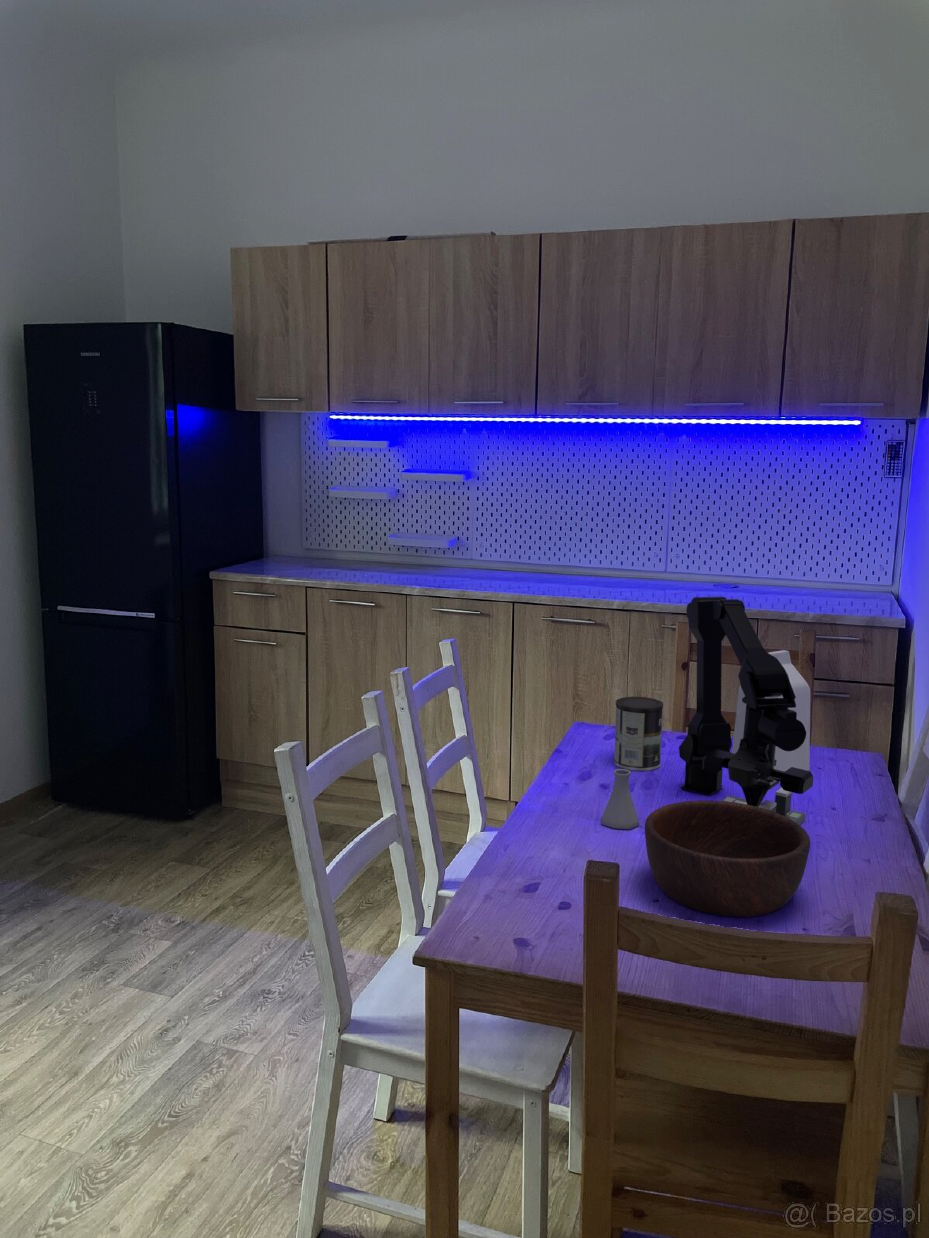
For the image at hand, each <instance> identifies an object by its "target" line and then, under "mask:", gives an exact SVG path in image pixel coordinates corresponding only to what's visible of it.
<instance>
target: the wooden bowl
mask: <svg viewBox="0 0 929 1238" xmlns="http://www.w3.org/2000/svg"><path fill="white" fill-rule="evenodd" d="M644 836H645V837H644V838H645V846H646V847H645V848H646V854H647V859H648V864H649V868H650V870H651V872H652V875H653V877H654V879H655V881H656V883H657V884H658V886H659V888H660V889H661V890H662V891H663V892H664V893H665V894H666V895H667V896H668V897H669V898H670V899H672V900H673V901H675V902H677V903H679V904H680V905H683V906H685V907H687V908H690V909H692V910H696V911H699V912H702V913H707V914H711V915H716V916H723V917H736V918H737V917H738V918H739V917H740V918H741V917H745V918H746V917H747V918H748V917H757V916H764V915H767V914H770V913H774V912H775V911H777V910H779V909H781V908H783V907H784V906H785V905H787V904H788V903H789V902H790V900H791V899H792V898H793V897H794V895H795V893H796V892H797V890H798V888H799V886H800V884H801V882H802V881H803V877H804V873H805V870H806V866H807V863H808V858H809V854H810V849H811V839H810V838H811V837H810V836H809V834H808V831H806V830H805V828H804V827H802V826H801V825H799V824H797V823H796V822H794V821H793V820H791V819H789V818H787V817H785V816H783V815H781V814H778V813H776V812H773V811H770V810H767V809H764V808H760V807H756V806H751V805H747V804H741V803H735V802H726V801H722V800H705V799H704V800H690V801H689V800H688V801H681V802H678V801H677V802H673V803H671V804H666V805H664V806H661V807H658V808H657V809H655V810H652V812H651V813H650V814H649V815H648V816H647V817H646V819H645V822H644Z"/></svg>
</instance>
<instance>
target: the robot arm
mask: <svg viewBox="0 0 929 1238" xmlns="http://www.w3.org/2000/svg"><path fill="white" fill-rule="evenodd" d="M745 610H746V608H745V603H744V601H742V600H740V599H738V598H736V599H735V598H734V599H733V598H731V599H729V598H728V599H727V597H725V596H695V597H693V598H692V599H691V602H689V603H688V604H687V605H686V617H687V619H688V620H687V621H688V628H689V630H690V632H691V633H692V635H693V637H694V638H695V640H696V711H695V713H694V715H693V716H692V719H691V720H690V721H689V723H688V726H687V735H686V736H685V737H684V739H683V741H682V742H681V743H680V745H679V747H678V752H679V754H678V755H679V758H680V759H681V760H683V761H684V762H685V767H684V768H685V769H684V770H685V772H684V784H682V785H680V789H681V790H685V791H689V792H691V793H697V794H701V795H705V796H712V795H714V794H715V793H716V792H719V791H720V790H721V789H722V788H723V768H724V769H727V771H728V779H729V780H730V781H732V782H734V783H737V785H738V786H740V788H741V790H742V792H743V795H744V797H745V798H744V799H746V802H747V805H751V806H756V807H759V805H760V804H761V803H763V800H764V798H765V797H766V795H767V793H768V792H769V790H771V789H773V788H775V787H776V786H777V785H778V784H779V786H780V788H783V790H785V791H789V792H792V794H793V793H794V794H797V795H802V794H804V793H807V791H808V790H810V789H811V788H813V786H814V775H813V773H812V772H811V770H809V771H807V770H803V769H798V768H794V767H791V768H789V769H788V770H787V771H785V772H784V771H780V770H776V769H774V766H776V761H777V760H775V750H776V746H777V747H779V748H780V749H782V750H784V751H793V750H796V749H798V748H799V747H800V746H801V745H802V744H803V743H804V740H805V738H806V730H805V727H804V725H803V723H802V722H801V721H799V720H797V719H796V718H797V713H796V712H795V711H793V710H789V709H788V708H795V707H796V703H795V698H796V696H795V694H794V691H793V689H792V686H791V684H790V680H789V677H788V674H787V672H786V670H785V669H784V667H783V666H782V665H781V663H780V662H779V661H778V659H777V658H776V657H774V656H772V655H771V654H769V652H767V651H766V649H765V647H764V646H763V644H762V643H761V640H760V638H759V637H758V636H759V635H758V634H757V633H756V631H755V629H754V626H753V625H752V623H751V621H750V619H749V617H748V615H747V613H746V611H745ZM726 637H727V641H728V642H729V644H730V646H731V648H732V650H733V652H734V654H735V656H736V658H737V661H738V662H739V666H740V668H739V672H738V675H737V676H738V679H739V683H740V684H739V686H740V685H741V688H742V690H743V693H744V695H745V697H744V698H742V702H743V703H745V704H746V713H745V724H744V734H743V738H742V739H741V740H740V745H739V749H738V751H737V752H736V753H735V754H734V753H732V752H731V749H732V747H733V741H732V737H731V736H732V735H731V734H732V732H731V731H732V726H731V724H730V723H729V722H727V721H726V719H725V717H724V716H723V714H722V679H723V678H722V677H723V676H722V674H723V673H722V665H723V664H722V661H723V660H722V658H723V657H722V654H723V653H722V651H723V640H724V639H725V638H726ZM780 696H783V698H767V699H765V698H764V697H780Z"/></svg>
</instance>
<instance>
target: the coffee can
mask: <svg viewBox="0 0 929 1238" xmlns="http://www.w3.org/2000/svg"><path fill="white" fill-rule="evenodd" d="M615 706H616V707H615V729H614V731H615V732H614V758H613V759H614V760H613V763H614V765H615V766H617V767H619V769H625V770H629V771H635V772H649V771H654V770H656V769H657V770H658V769H660V767H661V754H662V753H661V751H662V750H661V749H662V729H663V727H662V726H663V711H664V710H663V708H664V702H663V701H661V700H660V699H656V698H652V697H647V696H627V697H621V698H618V699H616V700H615Z"/></svg>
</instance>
